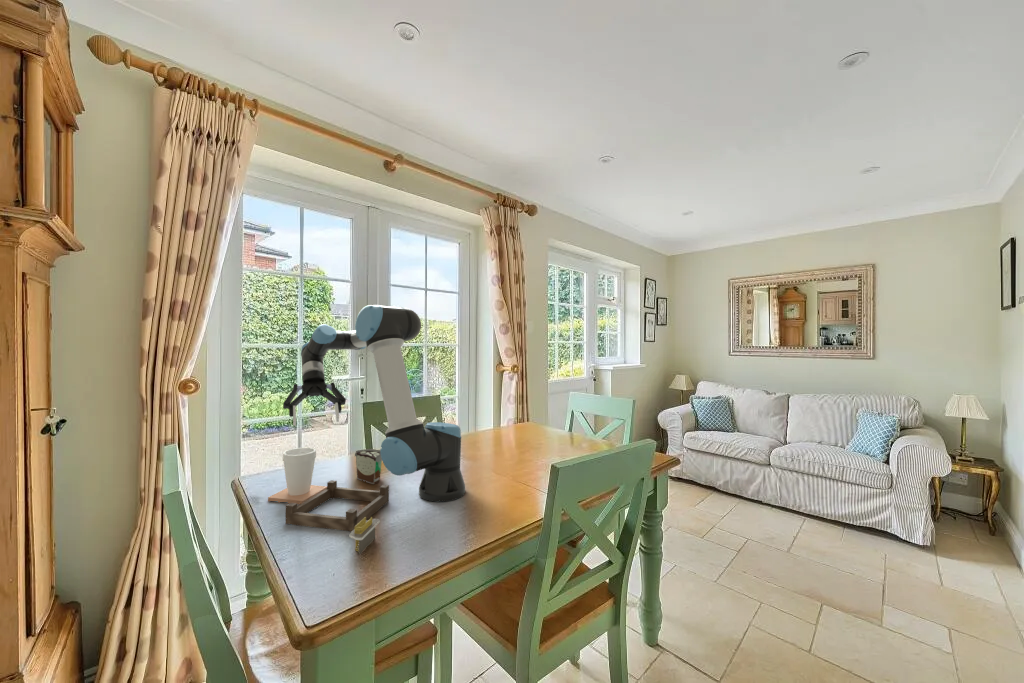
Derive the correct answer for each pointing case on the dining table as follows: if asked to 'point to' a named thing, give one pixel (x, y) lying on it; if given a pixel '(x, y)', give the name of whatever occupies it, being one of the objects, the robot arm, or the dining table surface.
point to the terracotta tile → (298, 499)
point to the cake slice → (368, 465)
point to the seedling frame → (348, 523)
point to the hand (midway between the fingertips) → (316, 421)
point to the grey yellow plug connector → (364, 533)
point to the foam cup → (299, 469)
